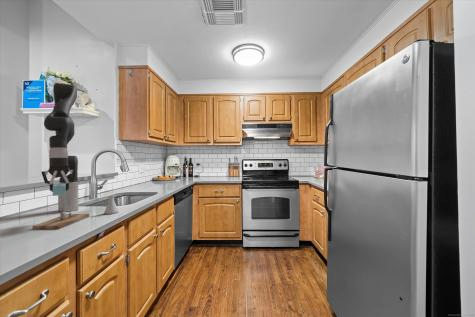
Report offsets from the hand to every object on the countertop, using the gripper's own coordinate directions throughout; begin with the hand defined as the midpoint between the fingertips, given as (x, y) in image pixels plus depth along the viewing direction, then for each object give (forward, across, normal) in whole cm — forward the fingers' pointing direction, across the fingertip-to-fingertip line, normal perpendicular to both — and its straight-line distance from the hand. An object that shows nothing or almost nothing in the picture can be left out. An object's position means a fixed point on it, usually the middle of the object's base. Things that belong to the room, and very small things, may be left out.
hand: (59, 191), depth 120 cm
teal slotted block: (+1, 0, -2) cm, 2 cm away
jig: (+16, -1, 0) cm, 16 cm away
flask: (+16, -24, -7) cm, 29 cm away
